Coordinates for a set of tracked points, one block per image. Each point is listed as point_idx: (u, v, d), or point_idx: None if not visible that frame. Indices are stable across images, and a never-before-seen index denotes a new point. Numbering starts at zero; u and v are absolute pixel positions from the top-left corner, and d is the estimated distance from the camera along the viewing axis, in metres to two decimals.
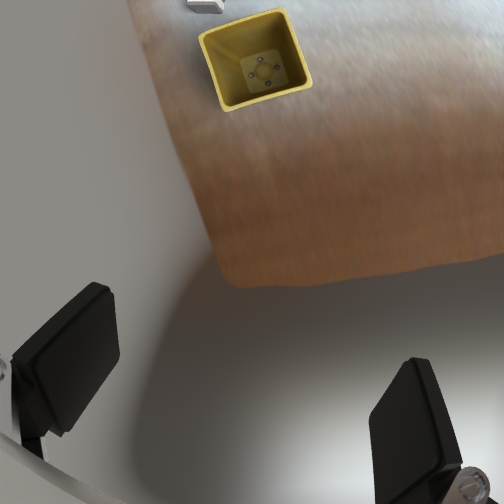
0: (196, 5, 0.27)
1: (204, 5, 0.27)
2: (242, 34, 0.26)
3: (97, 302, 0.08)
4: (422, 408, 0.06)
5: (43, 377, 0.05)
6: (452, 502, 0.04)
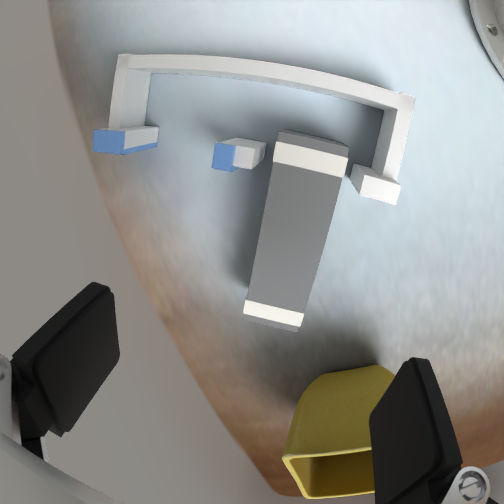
0: None
1: (278, 326, 0.19)
2: None
3: (97, 302, 0.08)
4: (422, 408, 0.06)
5: (43, 377, 0.05)
6: (452, 502, 0.04)
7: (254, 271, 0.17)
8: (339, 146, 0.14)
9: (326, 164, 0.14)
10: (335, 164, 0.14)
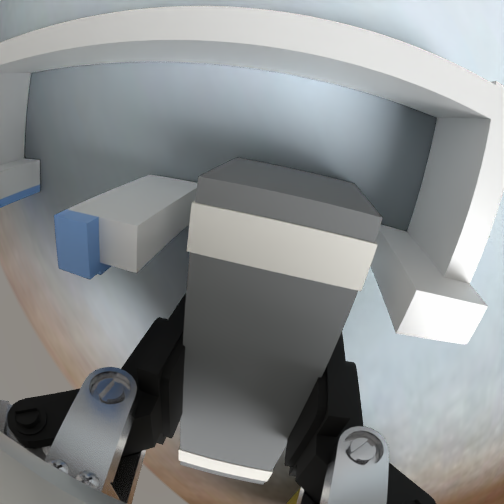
0: None
1: (235, 475, 0.10)
2: None
3: None
4: None
5: (170, 386, 0.06)
6: (345, 472, 0.05)
7: (184, 424, 0.09)
8: (357, 214, 0.05)
9: (319, 260, 0.06)
10: (344, 259, 0.06)
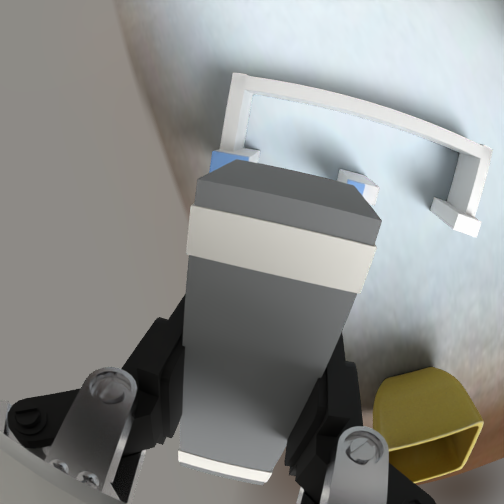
0: None
1: (234, 476, 0.10)
2: None
3: None
4: None
5: (170, 386, 0.06)
6: (345, 472, 0.05)
7: (183, 425, 0.09)
8: (356, 217, 0.05)
9: (319, 262, 0.06)
10: (343, 262, 0.06)
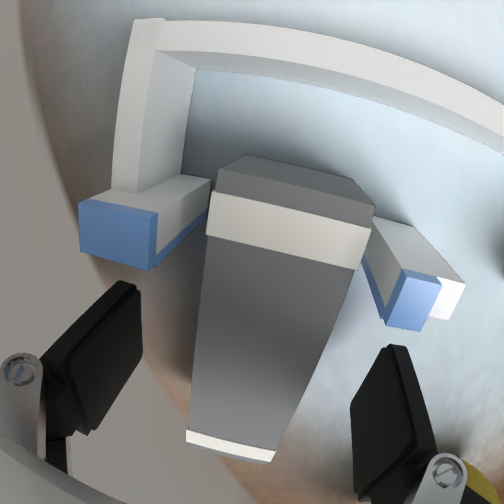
0: None
1: (239, 456, 0.11)
2: None
3: (126, 300, 0.08)
4: (397, 393, 0.07)
5: (76, 375, 0.06)
6: (427, 491, 0.04)
7: (193, 402, 0.09)
8: (353, 203, 0.06)
9: (322, 242, 0.07)
10: (342, 241, 0.07)
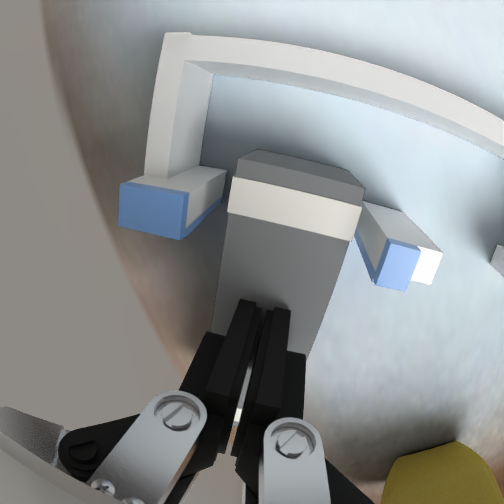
0: None
1: None
2: None
3: (257, 319, 0.09)
4: (261, 350, 0.08)
5: (236, 405, 0.06)
6: (277, 470, 0.05)
7: None
8: (347, 185, 0.08)
9: (322, 218, 0.08)
10: (338, 217, 0.08)
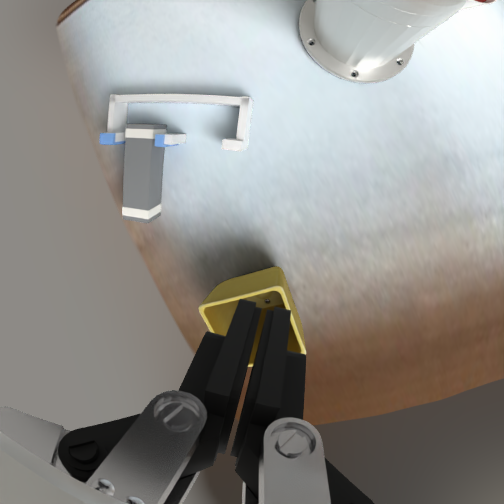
0: None
1: (139, 221, 0.34)
2: None
3: (257, 319, 0.09)
4: (261, 350, 0.08)
5: (236, 405, 0.06)
6: (277, 470, 0.05)
7: (124, 190, 0.33)
8: (149, 125, 0.29)
9: (145, 134, 0.30)
10: (148, 133, 0.30)
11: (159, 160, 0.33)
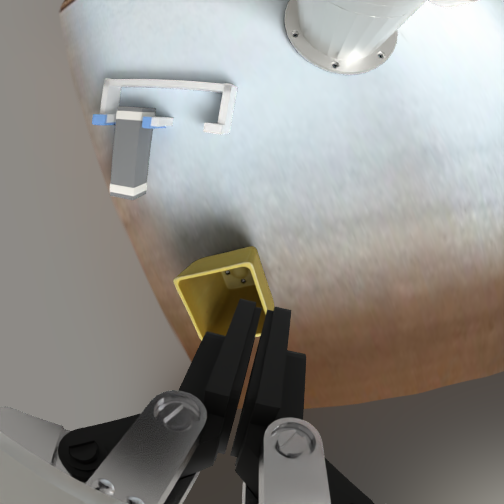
0: None
1: (125, 198, 0.35)
2: None
3: (257, 319, 0.09)
4: (260, 350, 0.08)
5: (236, 405, 0.06)
6: (277, 470, 0.05)
7: (112, 168, 0.34)
8: (138, 108, 0.30)
9: (134, 116, 0.31)
10: (137, 115, 0.31)
11: (146, 141, 0.34)
